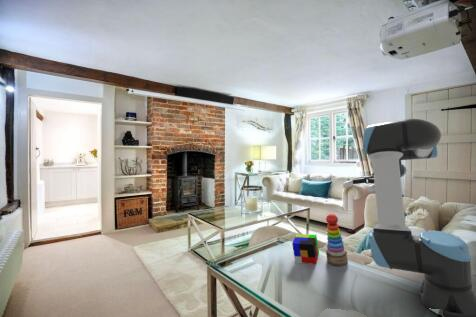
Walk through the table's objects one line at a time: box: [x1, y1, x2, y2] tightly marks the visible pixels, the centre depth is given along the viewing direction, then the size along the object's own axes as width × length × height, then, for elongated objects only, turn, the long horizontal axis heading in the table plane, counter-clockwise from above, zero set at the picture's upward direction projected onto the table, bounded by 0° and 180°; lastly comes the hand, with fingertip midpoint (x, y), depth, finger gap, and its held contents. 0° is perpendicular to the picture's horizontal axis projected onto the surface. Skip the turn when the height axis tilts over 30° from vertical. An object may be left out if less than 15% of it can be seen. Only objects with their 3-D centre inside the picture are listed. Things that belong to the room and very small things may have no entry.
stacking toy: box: [325, 213, 347, 256], centre depth 110 cm, size 8×8×19 cm
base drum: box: [325, 250, 349, 267], centre depth 111 cm, size 9×9×4 cm
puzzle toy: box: [291, 233, 320, 265], centre depth 118 cm, size 10×10×10 cm
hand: (355, 187), depth 112 cm, fingers open, 13 cm apart
